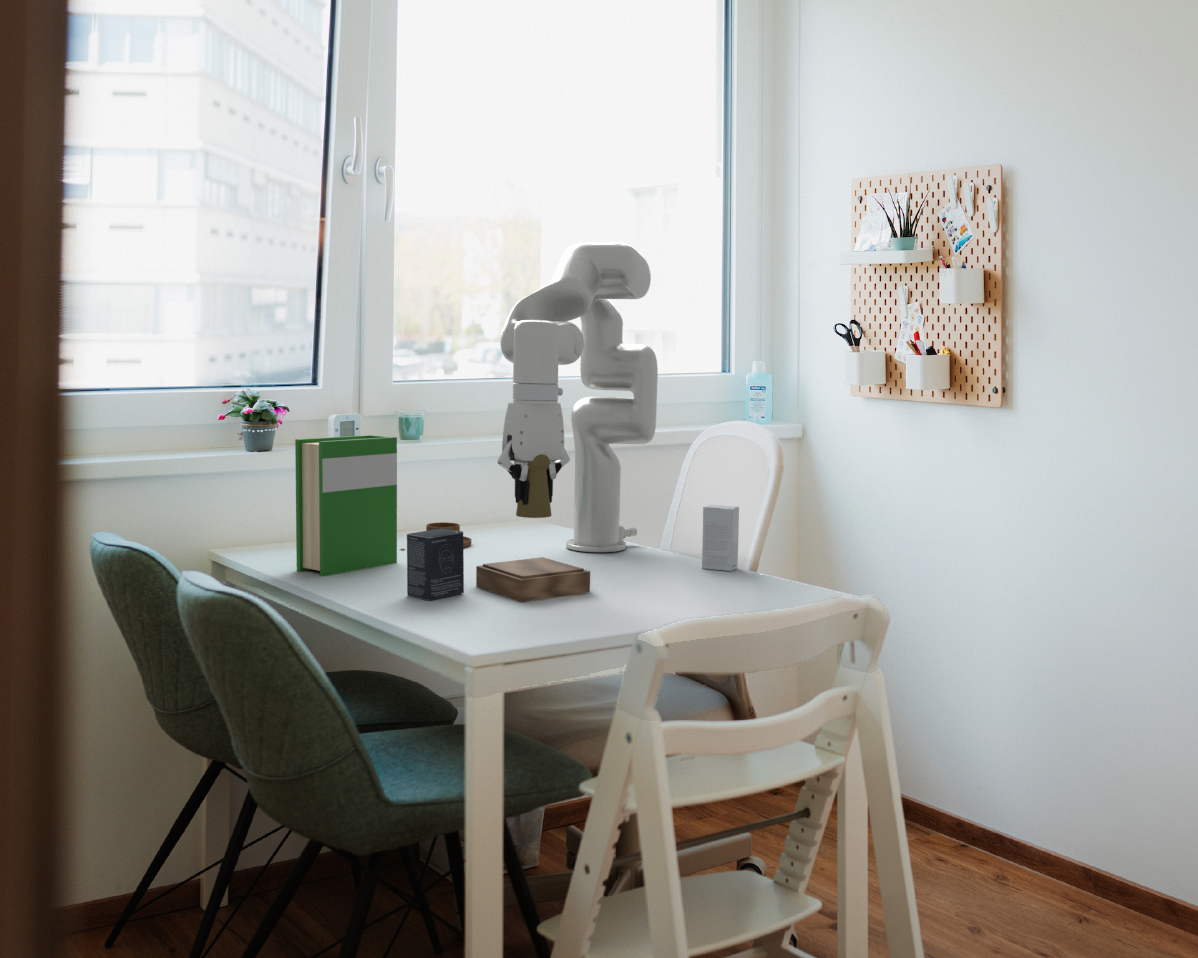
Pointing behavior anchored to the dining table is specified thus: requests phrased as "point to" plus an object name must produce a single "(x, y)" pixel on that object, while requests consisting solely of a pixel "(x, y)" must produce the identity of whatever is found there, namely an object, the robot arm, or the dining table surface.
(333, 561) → the hardback book
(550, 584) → the walnut plinth
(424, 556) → the box
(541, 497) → the cork
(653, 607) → the dining table surface
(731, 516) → the skincare box
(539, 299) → the robot arm
